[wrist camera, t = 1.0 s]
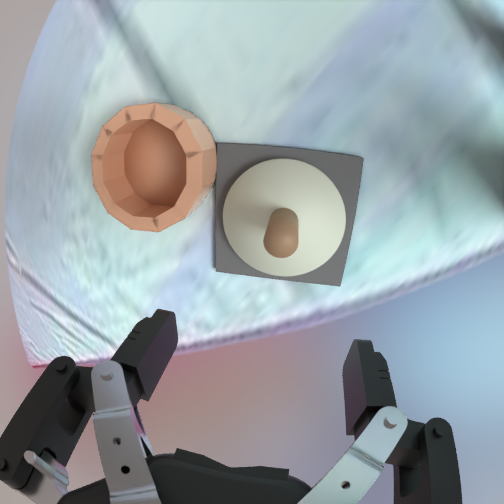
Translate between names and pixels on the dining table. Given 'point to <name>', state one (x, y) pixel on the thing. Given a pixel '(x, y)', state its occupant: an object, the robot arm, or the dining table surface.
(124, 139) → the bowl
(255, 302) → the dining table surface
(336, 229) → the lid
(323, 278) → the mat
